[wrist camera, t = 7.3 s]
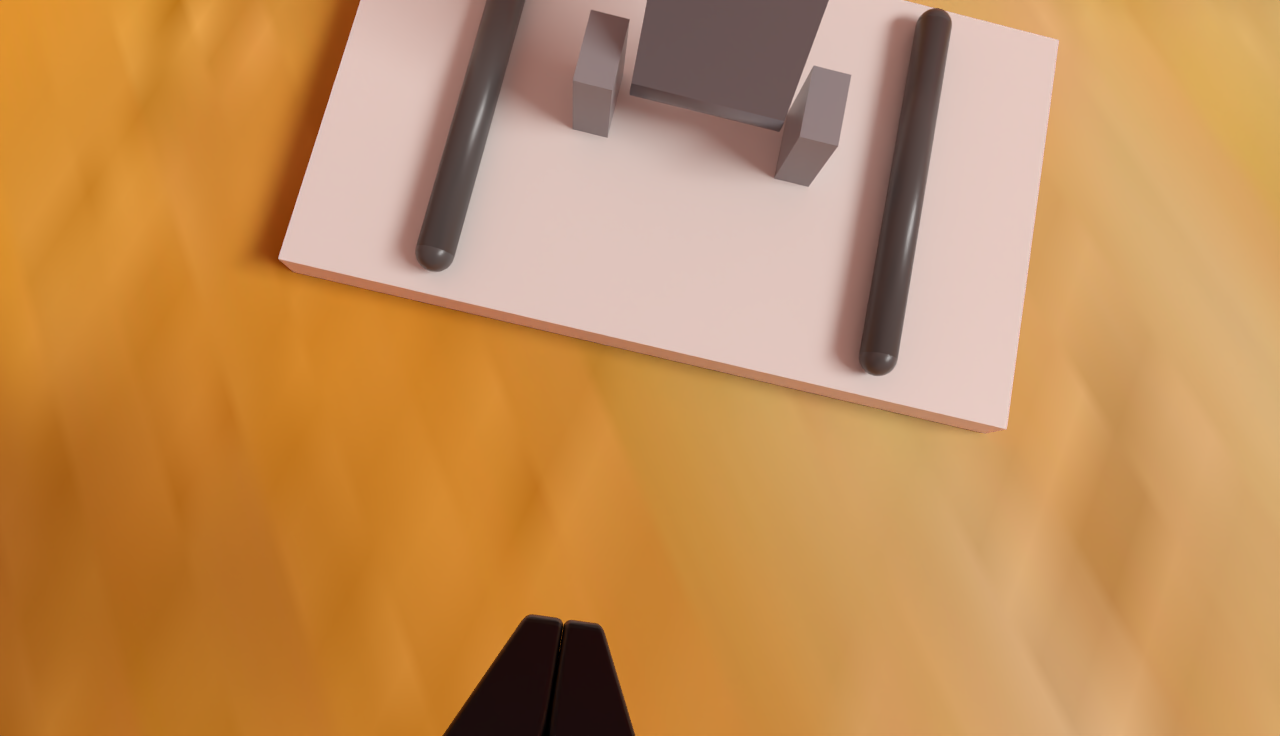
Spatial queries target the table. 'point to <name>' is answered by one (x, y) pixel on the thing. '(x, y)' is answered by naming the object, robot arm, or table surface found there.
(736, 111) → the lever
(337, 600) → the table surface
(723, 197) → the plate
